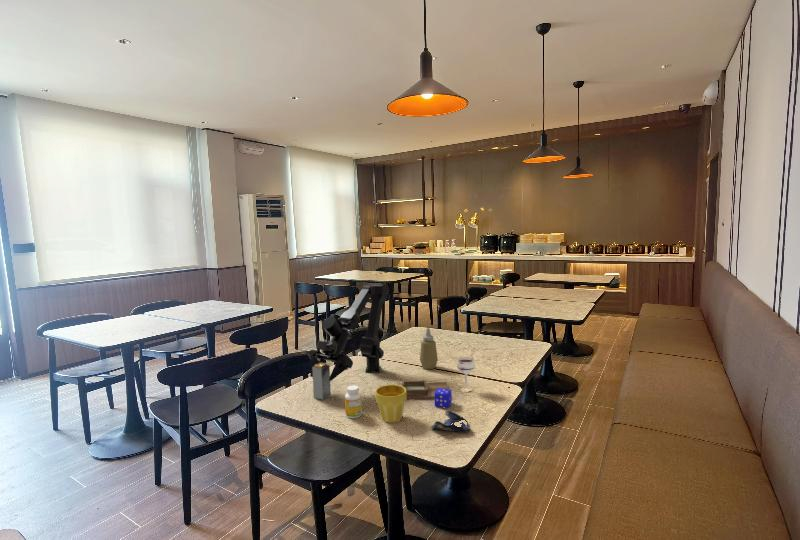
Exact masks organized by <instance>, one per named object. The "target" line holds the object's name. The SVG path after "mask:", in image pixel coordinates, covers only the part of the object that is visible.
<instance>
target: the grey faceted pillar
mask: <svg viewBox="0 0 800 540" xmlns="http://www.w3.org/2000/svg"><path fill="white" fill-rule="evenodd" d="M311 367H312V366H311ZM312 371H313V377H312V391H313V399H315V398H317V399H316V400H319V399H321V400H320V401H324V400H327V399H328V398H330V397H331V381H330V380H329V378H330V375H331V373H330V371H331V369H330V364H329V365H328V363H326V362H320V363H318V364H316V365H315V366H314V367H312ZM329 396H330V397H329Z"/></svg>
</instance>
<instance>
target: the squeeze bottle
mask: <svg viewBox="0 0 800 540" xmlns="http://www.w3.org/2000/svg"><path fill="white" fill-rule="evenodd" d="M437 351H438V350H437V344H436V341H435V340H434V335H432V334H431V329H430V328H429V327H428V328H426V330H425V334H424V335H423V336H422V341H421V343H420V353H419V354H420V355H419V361H420V365H421V366H422V369H425V370H433V369H435V368H436V367H437V364H438V360H439V359H438V352H437Z"/></svg>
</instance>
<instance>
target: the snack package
mask: <svg viewBox="0 0 800 540" xmlns="http://www.w3.org/2000/svg"><path fill="white" fill-rule="evenodd" d="M444 416H446V417H447V419H445V420H443V421H442V422H441V421H435V422H434V423H433V424H432V425H431V426H430V429H431V430H432V429H433V430H434V429H436V430H443V431H448V432H456V431H467V432H470V429H471V427H470V425H469V422H468V421H467V419H466V418H465V417H463V416H461V415H460V414H458V413H456V412H454V411H452V410H449V409H447V410H446V411H445V414H444ZM461 420H465V421H466V422H467V425H466V426H467V427H466V426H465V424H464V423H463V422H462V423H460V424H462V425H461V427H457V426H455V425H454V423H455V422H459V421H461ZM452 423H453V424H452ZM451 424H452V425H451Z"/></svg>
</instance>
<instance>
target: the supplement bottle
mask: <svg viewBox="0 0 800 540" xmlns="http://www.w3.org/2000/svg"><path fill="white" fill-rule="evenodd" d="M344 400H345V401H344V403H345V405H344V406H345V416H346V417H347V418H349V419H357V418H359V417H360V418H361V416H362V414H363V413H362V409H363V407H362V394H361V393H360V389H359V386H358V385H349V386H347V387H346V394H345V395H344Z"/></svg>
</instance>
